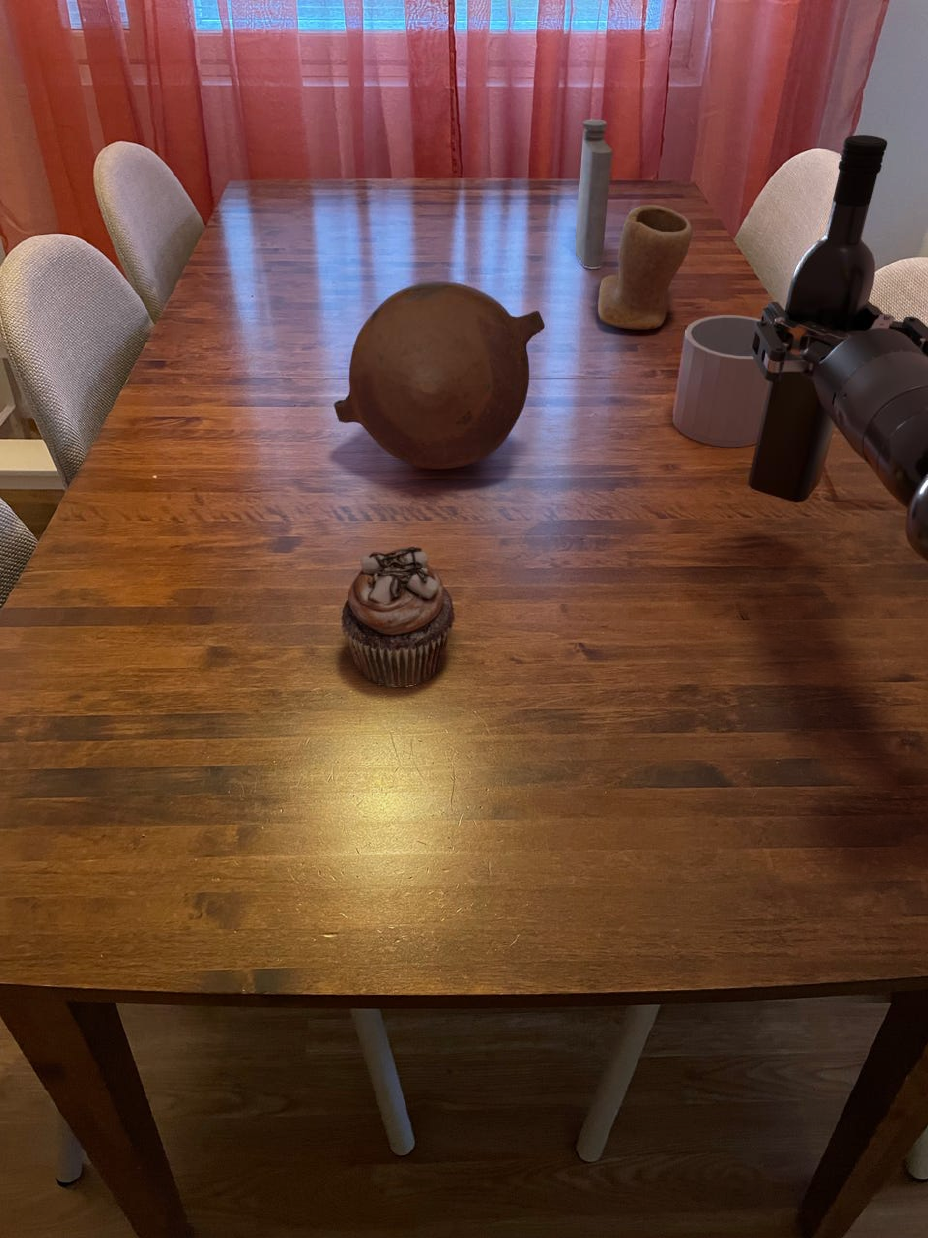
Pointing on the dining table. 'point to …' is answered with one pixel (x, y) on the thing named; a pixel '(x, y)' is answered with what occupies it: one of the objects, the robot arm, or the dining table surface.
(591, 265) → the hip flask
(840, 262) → the wine bottle
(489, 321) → the jug
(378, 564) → the cupcake
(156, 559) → the dining table surface
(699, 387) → the cup
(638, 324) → the brown boot vase
